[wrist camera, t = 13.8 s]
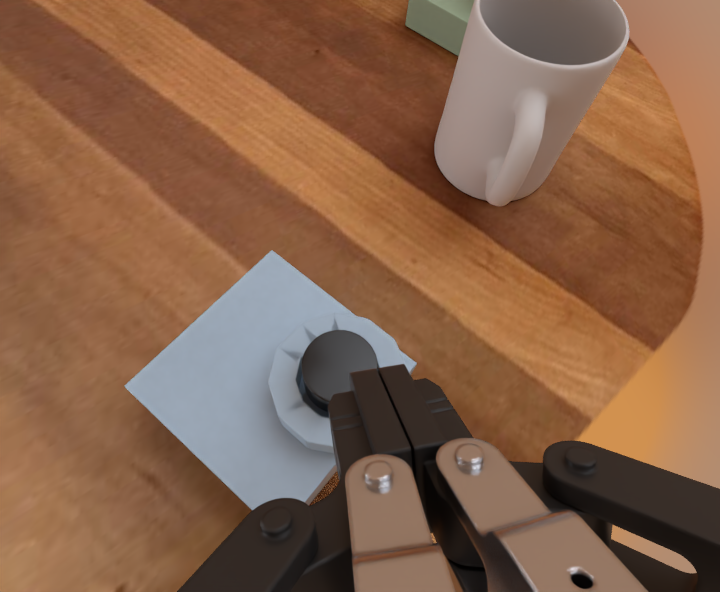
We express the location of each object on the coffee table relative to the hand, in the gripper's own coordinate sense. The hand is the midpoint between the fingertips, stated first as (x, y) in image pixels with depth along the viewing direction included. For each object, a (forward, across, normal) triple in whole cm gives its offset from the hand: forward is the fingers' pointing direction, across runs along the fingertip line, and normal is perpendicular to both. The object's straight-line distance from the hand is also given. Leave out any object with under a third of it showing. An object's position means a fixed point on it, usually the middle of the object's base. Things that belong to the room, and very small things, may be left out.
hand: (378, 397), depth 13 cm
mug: (+23, +13, +2) cm, 26 cm away
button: (+8, 0, -4) cm, 9 cm away
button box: (+13, -3, -7) cm, 15 cm away
